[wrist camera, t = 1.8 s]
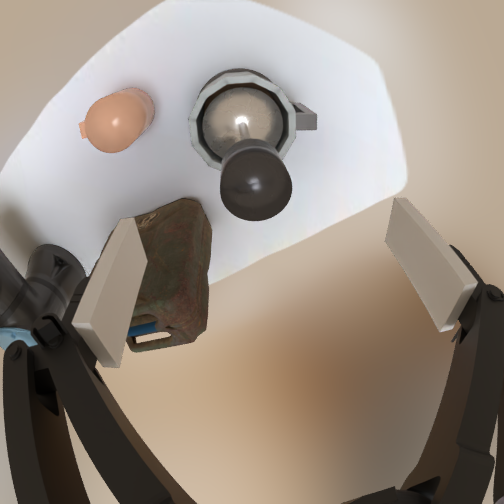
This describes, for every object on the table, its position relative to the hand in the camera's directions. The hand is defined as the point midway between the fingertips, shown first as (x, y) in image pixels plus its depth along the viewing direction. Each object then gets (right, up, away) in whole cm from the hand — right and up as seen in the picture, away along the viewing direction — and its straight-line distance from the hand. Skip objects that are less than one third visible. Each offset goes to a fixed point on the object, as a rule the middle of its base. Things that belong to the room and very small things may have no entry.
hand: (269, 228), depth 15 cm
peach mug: (-20, +21, +26) cm, 39 cm away
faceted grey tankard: (-2, +21, +28) cm, 35 cm away
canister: (-18, +4, +39) cm, 43 cm away
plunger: (-2, +13, +18) cm, 23 cm away
